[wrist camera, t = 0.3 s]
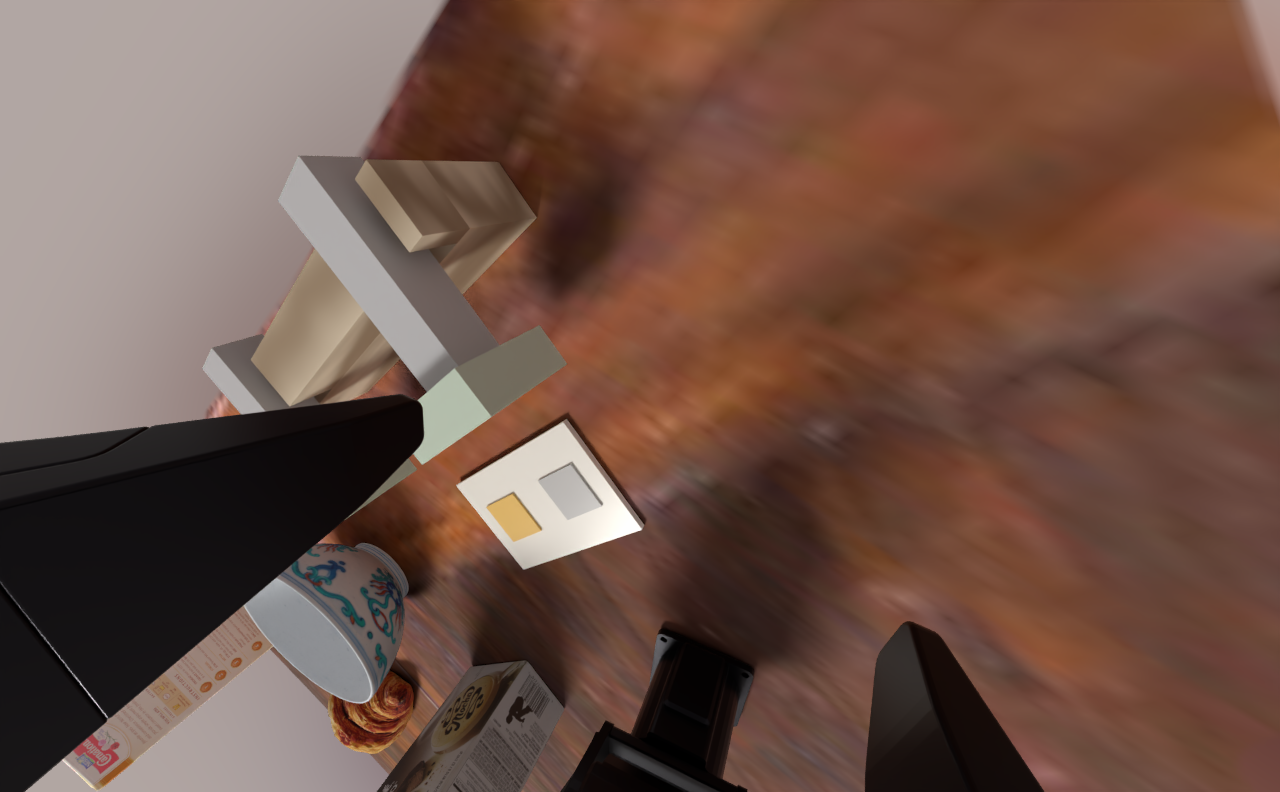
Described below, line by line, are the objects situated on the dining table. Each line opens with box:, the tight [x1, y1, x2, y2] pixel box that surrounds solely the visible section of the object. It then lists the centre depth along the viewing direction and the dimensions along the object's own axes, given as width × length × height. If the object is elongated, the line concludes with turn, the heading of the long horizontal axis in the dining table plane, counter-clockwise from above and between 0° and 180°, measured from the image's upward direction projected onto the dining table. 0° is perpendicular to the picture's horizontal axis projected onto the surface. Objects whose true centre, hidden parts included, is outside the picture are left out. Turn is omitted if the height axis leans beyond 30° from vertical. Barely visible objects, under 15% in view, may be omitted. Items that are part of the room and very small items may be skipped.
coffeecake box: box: [62, 606, 273, 791], centre depth 55 cm, size 15×7×20 cm, turn 31°
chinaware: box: [244, 543, 409, 703], centre depth 40 cm, size 15×15×8 cm
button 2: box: [202, 334, 417, 520], centre depth 26 cm, size 11×5×5 cm, turn 38°
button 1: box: [278, 156, 567, 465], centre depth 18 cm, size 11×5×5 cm, turn 38°
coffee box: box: [377, 660, 564, 792], centre depth 36 cm, size 9×6×16 cm
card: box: [456, 419, 644, 570], centre depth 30 cm, size 8×12×1 cm, turn 128°
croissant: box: [328, 670, 414, 754], centre depth 55 cm, size 21×10×8 cm, turn 138°
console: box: [228, 159, 537, 414], centre depth 24 cm, size 3×20×7 cm, turn 128°
